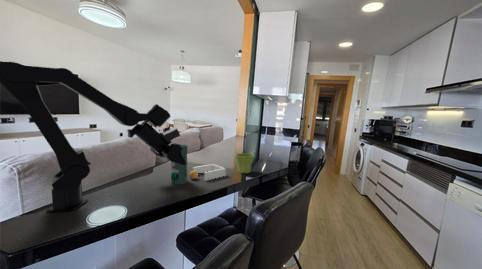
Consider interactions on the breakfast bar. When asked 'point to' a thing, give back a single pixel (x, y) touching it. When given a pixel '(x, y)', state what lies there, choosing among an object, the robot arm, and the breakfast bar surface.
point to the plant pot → (244, 162)
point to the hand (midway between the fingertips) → (180, 162)
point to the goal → (211, 171)
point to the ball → (193, 174)
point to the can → (179, 169)
